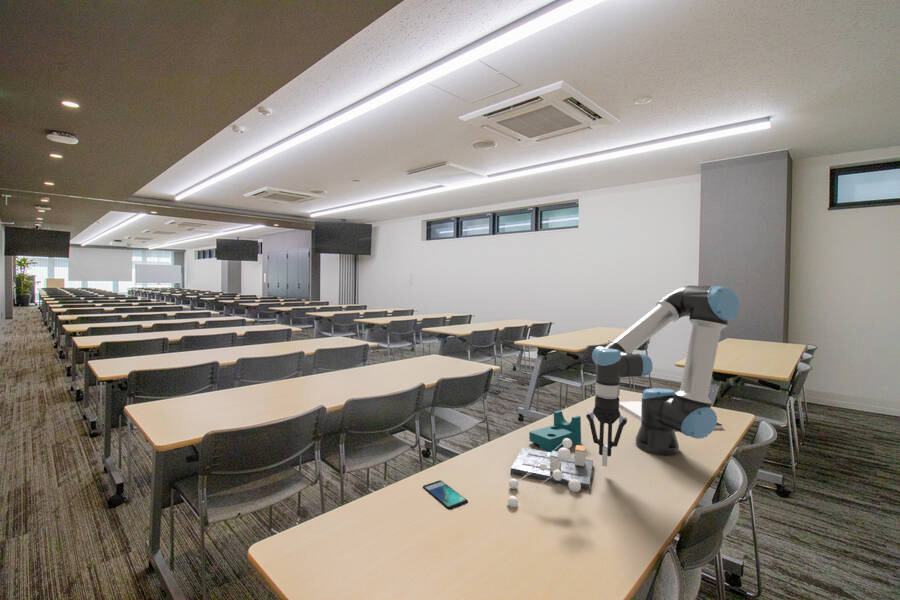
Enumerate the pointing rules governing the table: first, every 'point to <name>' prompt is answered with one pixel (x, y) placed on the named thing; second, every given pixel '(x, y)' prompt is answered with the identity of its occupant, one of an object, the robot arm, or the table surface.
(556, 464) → the block
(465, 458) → the table surface
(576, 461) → the fader
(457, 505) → the smartphone
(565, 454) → the molecule model
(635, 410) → the flat white panel
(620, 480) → the table surface
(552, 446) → the teal l-shaped bracket
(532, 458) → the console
